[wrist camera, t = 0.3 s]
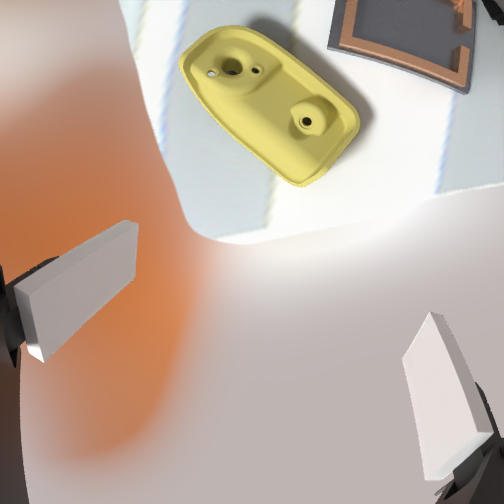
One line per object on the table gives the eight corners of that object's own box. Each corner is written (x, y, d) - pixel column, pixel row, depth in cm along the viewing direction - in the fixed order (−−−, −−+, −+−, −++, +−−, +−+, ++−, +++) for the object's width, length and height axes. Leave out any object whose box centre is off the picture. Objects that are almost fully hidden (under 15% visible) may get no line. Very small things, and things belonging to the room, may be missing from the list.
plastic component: (368, 119, 32) (317, 183, 31) (341, 135, 39) (297, 191, 39) (231, 12, 28) (168, 66, 28) (226, 43, 36) (173, 92, 35)
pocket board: (342, -39, 26) (343, -49, 23) (472, 6, 24) (480, 0, 21) (327, 49, 31) (327, 42, 29) (463, 94, 29) (473, 93, 26)
